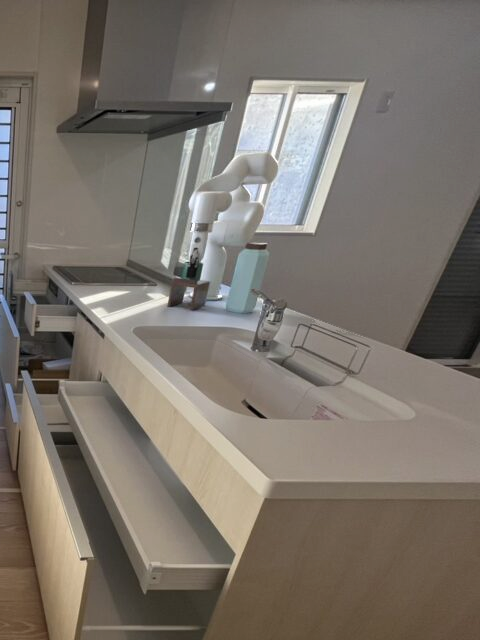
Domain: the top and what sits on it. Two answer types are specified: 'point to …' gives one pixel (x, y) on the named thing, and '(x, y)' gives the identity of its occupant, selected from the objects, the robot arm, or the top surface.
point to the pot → (198, 272)
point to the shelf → (179, 290)
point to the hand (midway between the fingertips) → (191, 275)
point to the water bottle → (247, 277)
